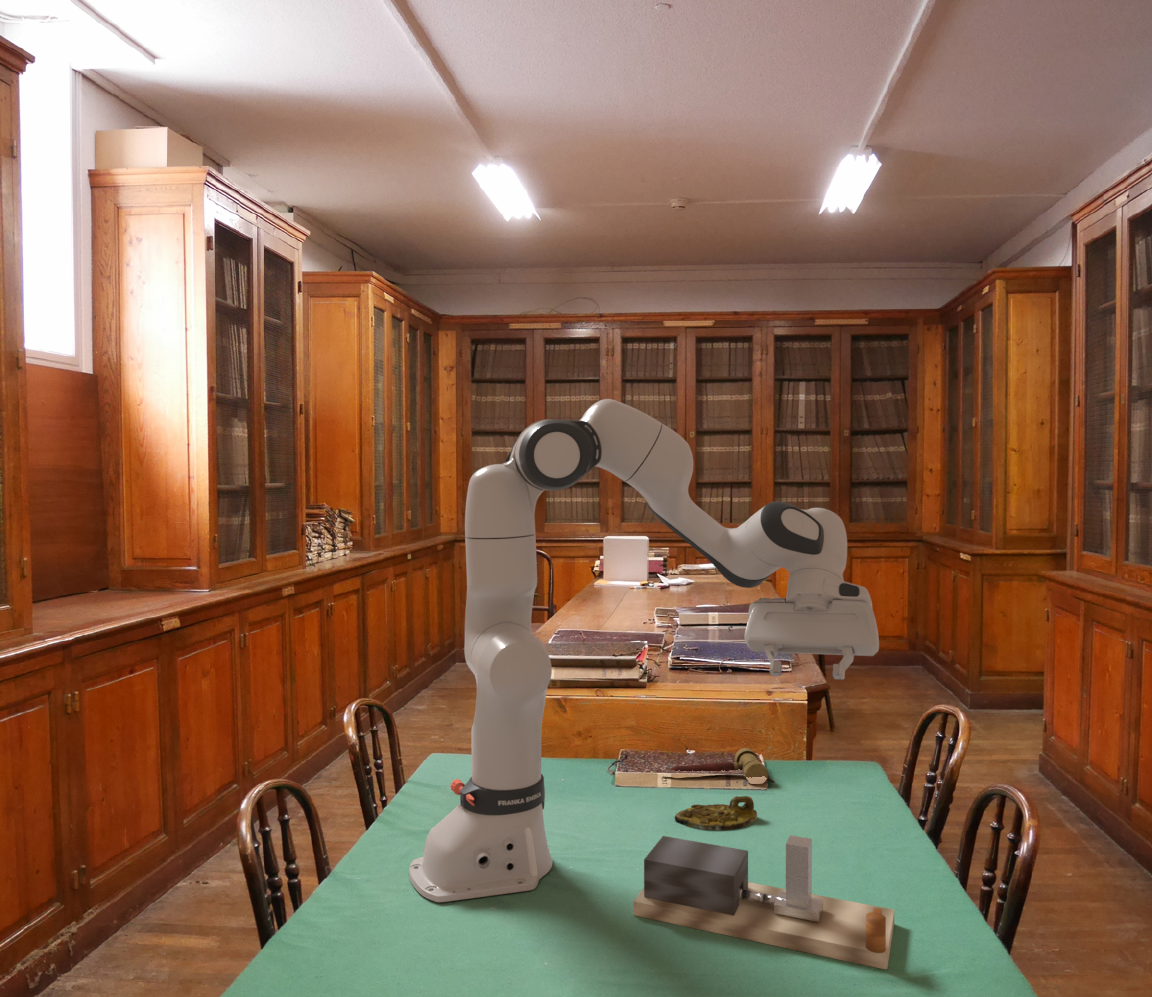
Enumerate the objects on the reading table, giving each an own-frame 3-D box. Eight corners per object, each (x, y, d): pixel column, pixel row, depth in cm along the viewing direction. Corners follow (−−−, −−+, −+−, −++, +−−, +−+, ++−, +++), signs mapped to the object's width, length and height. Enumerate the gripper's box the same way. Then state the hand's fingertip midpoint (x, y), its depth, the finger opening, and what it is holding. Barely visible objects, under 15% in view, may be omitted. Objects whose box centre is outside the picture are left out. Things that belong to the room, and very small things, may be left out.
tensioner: (633, 915, 124) (632, 863, 124) (660, 878, 135) (660, 830, 135) (887, 970, 110) (887, 912, 110) (894, 923, 121) (894, 870, 121)
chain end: (657, 889, 127) (657, 823, 126) (665, 877, 131) (665, 813, 130) (818, 921, 118) (819, 850, 117) (823, 907, 121) (823, 839, 121)
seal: (681, 840, 152) (765, 833, 154) (682, 814, 151) (765, 808, 153) (669, 813, 161) (747, 807, 163) (669, 789, 160) (748, 783, 162)
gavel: (662, 771, 173) (656, 755, 183) (664, 794, 174) (657, 776, 184) (767, 762, 174) (755, 746, 184) (768, 785, 174) (756, 767, 184)
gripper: (746, 587, 143) (734, 662, 135) (877, 588, 134) (873, 668, 126) (754, 608, 147) (743, 682, 139) (882, 610, 138) (878, 689, 130)
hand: (806, 675), depth 133 cm, fingers open, 8 cm apart
